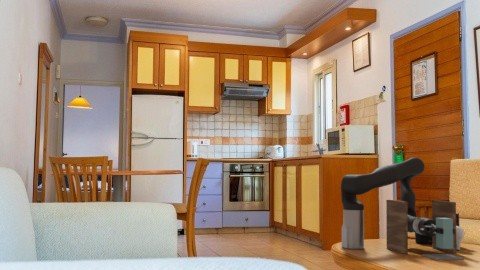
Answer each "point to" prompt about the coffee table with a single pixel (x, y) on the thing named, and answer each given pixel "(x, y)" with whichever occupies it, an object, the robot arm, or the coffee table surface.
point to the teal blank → (447, 238)
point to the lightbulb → (459, 236)
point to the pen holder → (423, 239)
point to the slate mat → (442, 257)
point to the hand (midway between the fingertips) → (448, 231)
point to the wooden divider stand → (399, 223)
